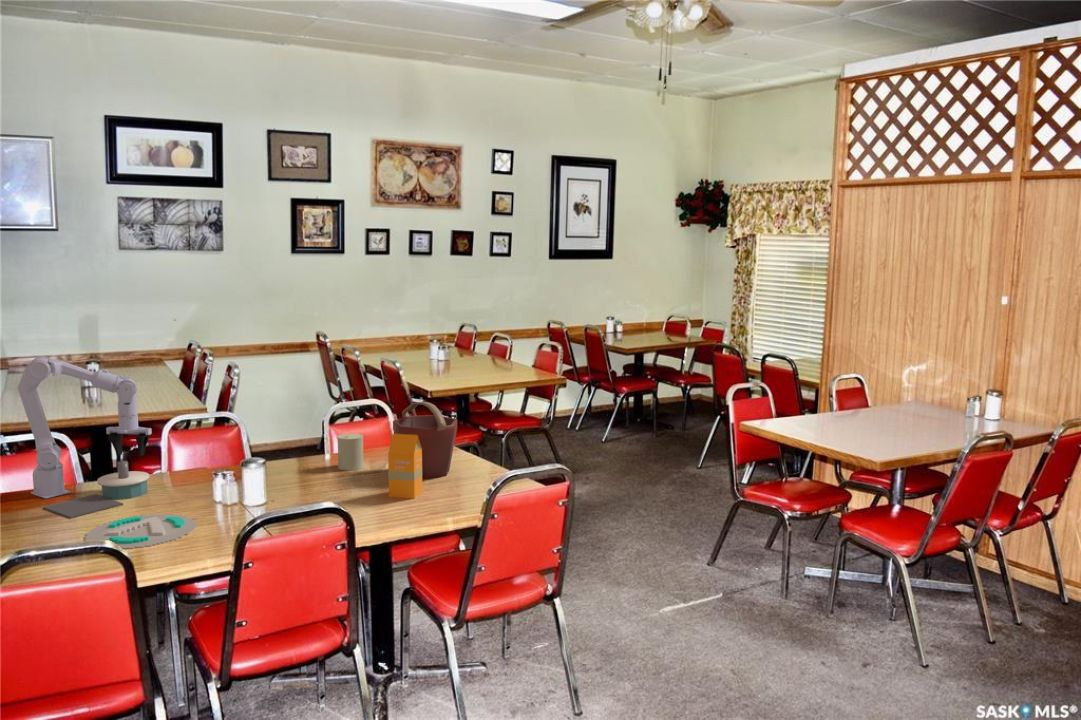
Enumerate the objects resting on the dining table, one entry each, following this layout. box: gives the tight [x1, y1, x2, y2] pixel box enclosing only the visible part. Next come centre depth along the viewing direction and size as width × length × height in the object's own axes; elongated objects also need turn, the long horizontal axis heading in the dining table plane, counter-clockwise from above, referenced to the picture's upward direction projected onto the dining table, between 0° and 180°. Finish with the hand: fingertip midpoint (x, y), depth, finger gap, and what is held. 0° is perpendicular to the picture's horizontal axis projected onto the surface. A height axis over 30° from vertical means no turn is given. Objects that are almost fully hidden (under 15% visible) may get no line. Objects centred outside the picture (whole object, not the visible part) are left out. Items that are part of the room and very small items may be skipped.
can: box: [337, 432, 365, 472], centre depth 309 cm, size 9×9×12 cm
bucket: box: [392, 401, 458, 480], centre depth 302 cm, size 24×22×25 cm
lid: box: [97, 460, 150, 487], centre depth 275 cm, size 15×15×6 cm
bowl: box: [101, 480, 148, 500], centre depth 276 cm, size 13×13×4 cm
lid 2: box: [83, 513, 198, 550], centre depth 241 cm, size 28×28×2 cm
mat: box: [42, 493, 124, 519], centre depth 262 cm, size 16×16×1 cm
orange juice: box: [387, 433, 423, 499], centre depth 276 cm, size 8×9×20 cm
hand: (130, 455), depth 283 cm, fingers open, 7 cm apart
